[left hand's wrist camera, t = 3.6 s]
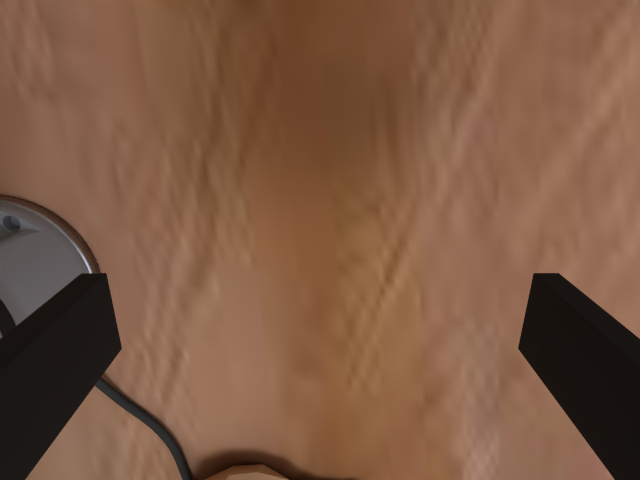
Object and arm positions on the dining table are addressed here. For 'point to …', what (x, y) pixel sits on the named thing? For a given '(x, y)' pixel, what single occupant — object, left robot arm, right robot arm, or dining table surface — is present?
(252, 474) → the squash
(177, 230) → the dining table surface
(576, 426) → the left robot arm
